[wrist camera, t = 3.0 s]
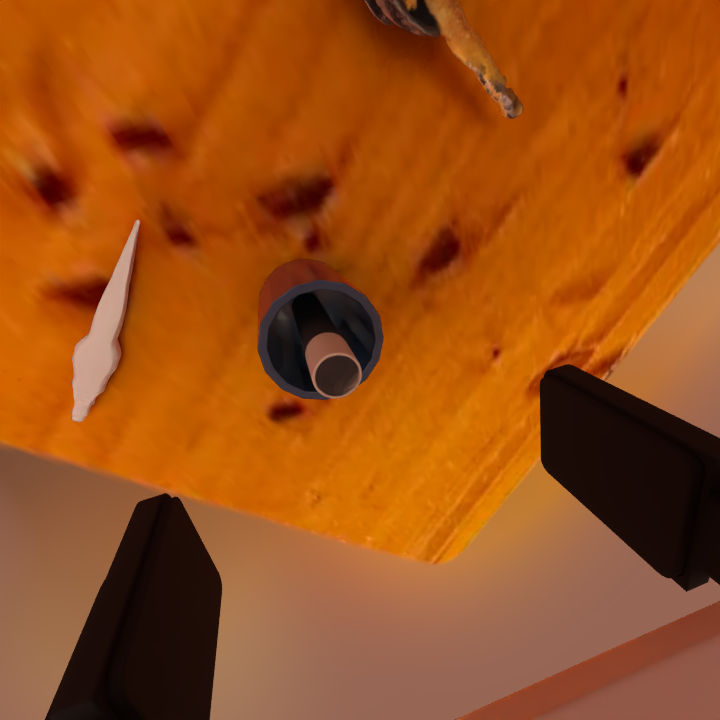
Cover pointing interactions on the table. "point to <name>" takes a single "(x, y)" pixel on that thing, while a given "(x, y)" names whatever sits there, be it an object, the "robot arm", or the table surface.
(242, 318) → the table surface
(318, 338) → the marker pen
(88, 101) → the table surface
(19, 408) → the table surface
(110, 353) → the pale pink tapered rod
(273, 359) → the pen cup
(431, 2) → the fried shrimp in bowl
